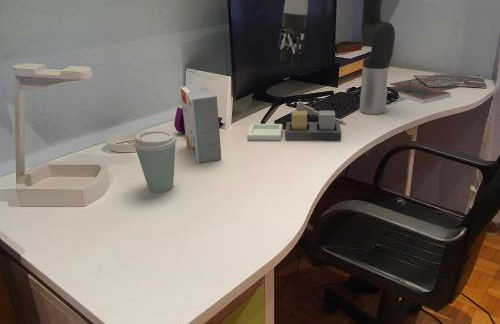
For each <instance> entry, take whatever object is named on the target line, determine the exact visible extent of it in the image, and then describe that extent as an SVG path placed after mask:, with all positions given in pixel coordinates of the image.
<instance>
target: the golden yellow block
mask: <svg viewBox="0 0 500 324" xmlns="http://www.w3.org/2000/svg"><path fill="white" fill-rule="evenodd" d="M291 122H292V130H307V122H308V114H307V111H301V110H300V111H296V110H292V111H291Z"/></svg>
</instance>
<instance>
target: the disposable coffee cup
mask: <svg viewBox="0 0 500 324" xmlns="http://www.w3.org/2000/svg"><path fill="white" fill-rule="evenodd" d="M176 144H177V137H176V135H174V134H173V133H172V132H170V131H166V130H162V129H161V130H160V129H159V130H158V129H157V130H155V129H154V130H146V131H142V132H139V133H137V134H136V135H135V137H134V141H133V147H134V149H135V151H136V154H137V156H138V160H139V164H140V166H141V167H140V168H141V170H142V173H143V175H144V179H145V182H146V185H147V187H148V188H149V190H150V191H151V192H154V193H164V192H166V191H169V190H170V189H172V188H173V185H174V181H175V180H174V179H175V160H176V158H175V157H176Z"/></svg>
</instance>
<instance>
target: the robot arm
mask: <svg viewBox="0 0 500 324" xmlns="http://www.w3.org/2000/svg"><path fill="white" fill-rule="evenodd" d="M308 3H309V0H285V1H284V7H283V15H282V23H281V25H282V27H284V28H280V33H279V38H278V48H280V50H281V51H280V58H279V59H280V62H287V60H288V53H289V48H291V50H292V55H291V57H292V58H291V63H290V65H291V66H295V67H297V66H299V61H300V56H301V54H303V53H304V52H305V45H306V37H307V34H306V33H301V32H302V30H304V29H305V28H306V23H307V16H308V8H309V6H308V5H309V4H308ZM382 4H383V0H362V13H361V14H362V16H361V24H360V25H361V26H360V38H361V41H362V43H363V44H364V45H365V46H367V47H371V49H370V55H369V56H367V57H365V58H364V59H363V60H362V61H363V62H362V72H361V73H362V74H361V86H360V99H359V112H361V113H362V114H366V115H367V114H368V115H379V114H385V113H386V107H387V98H388V93H387V90H388V89H387V87H388V76H389V75H388V74H389V66H390V62H391V60H392V58H393V53H394V52H393V51H394V48H395V47H394V46H395V38H396V32H395V27H394V25H393V24H392V23H390V22H388V21H382V17H381V16H382V15H381V14H382Z"/></svg>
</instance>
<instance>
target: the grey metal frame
mask: <svg viewBox="0 0 500 324" xmlns="http://www.w3.org/2000/svg"><path fill="white" fill-rule="evenodd" d="M284 131H285V132H284V134H285V135H284V136H285V137H284V141H285V142H286V141H287V142H288V141H289V142H295V141H296V142H342V129H341V124H340V123H339V122H335V131H319V121H307V130H292V121H286V125H285V129H284Z"/></svg>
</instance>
